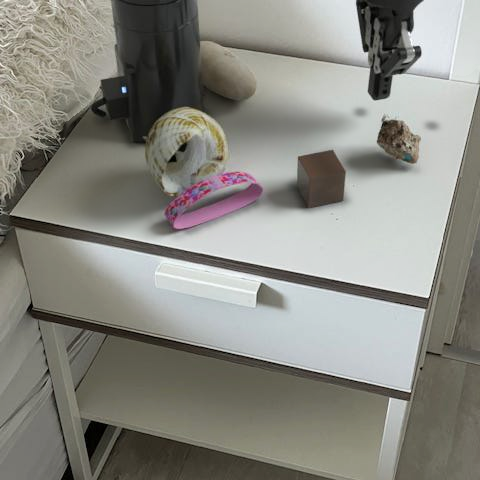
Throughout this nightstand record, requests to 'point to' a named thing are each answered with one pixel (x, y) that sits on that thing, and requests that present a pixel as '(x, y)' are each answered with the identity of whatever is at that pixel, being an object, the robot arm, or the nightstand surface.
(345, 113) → the nightstand surface
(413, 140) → the rock
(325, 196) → the brown cube block
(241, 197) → the headband
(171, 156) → the seashell
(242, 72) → the stone
